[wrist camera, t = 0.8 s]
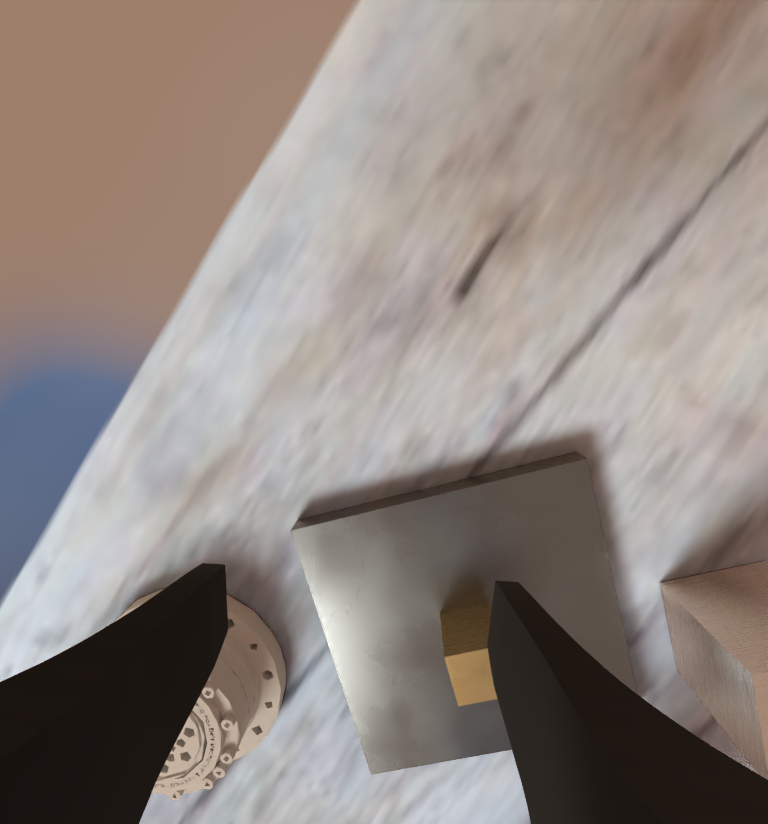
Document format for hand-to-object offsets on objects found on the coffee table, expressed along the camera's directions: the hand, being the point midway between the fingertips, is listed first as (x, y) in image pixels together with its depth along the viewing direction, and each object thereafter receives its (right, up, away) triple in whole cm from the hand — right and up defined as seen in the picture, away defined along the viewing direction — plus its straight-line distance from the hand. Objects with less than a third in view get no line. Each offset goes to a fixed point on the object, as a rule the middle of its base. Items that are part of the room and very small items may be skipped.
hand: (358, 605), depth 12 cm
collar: (+17, -5, +10) cm, 21 cm away
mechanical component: (-9, -9, +13) cm, 18 cm away
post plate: (+5, -5, +11) cm, 13 cm away
